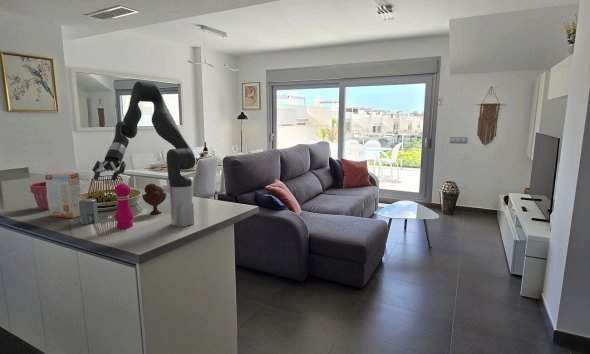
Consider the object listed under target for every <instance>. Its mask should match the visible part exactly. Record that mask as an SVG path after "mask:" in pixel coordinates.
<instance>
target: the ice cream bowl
mask: <svg viewBox="0 0 590 354" xmlns="http://www.w3.org/2000/svg"><path fill="white" fill-rule="evenodd" d="M144 192H145V193H144V194H142V195H141V197H142V199H143V201H144V202H145V203H146V204H148V205H149V206H152V207H153V208H152V211H150V212H149V215H152V216H158V215H161V214H162V211H161V210H159V209H158V206H159V205H161V204H162V203H163V202H164V201H165V200H166V198H167V195H168V194H167V193H166V192H164V188H162V187H161V186H158V185H156V183H148V184H146V185H145V187H144Z"/></svg>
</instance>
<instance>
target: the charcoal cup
mask: <svg viewBox="0 0 590 354" xmlns="http://www.w3.org/2000/svg"><path fill="white" fill-rule="evenodd" d="M79 210H80V216H79V220H80V224H81V225H89V224H90V223H89V222H88V214H93V220H94V223H93V224H96V223H98V222H99V214H98V213H99V212H98V201H97V199H96V198H84V199H81V200H80V201H79Z"/></svg>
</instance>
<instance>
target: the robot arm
mask: <svg viewBox="0 0 590 354" xmlns="http://www.w3.org/2000/svg"><path fill="white" fill-rule="evenodd" d="M140 102H144V103H145V102H146V103H149V102H150V103H152V104H153V106H154V110H153V113H152V114H151V115H152V116H151V123H152V126H153V128H154V130H155V132H156V134H158V136H160V137H161V139H163V140H165V141H166V142H168V143H169V144H170V145H172V146H173V147H174V148H171V149H169V150H168V151H167V152H166V158H165V159H166V169H167V179H168V183H169V199H170V203H169V204H170V220H171V222H170V223H171V226H174V227H181V228H183V227H187V226H191V225H194V224H195V214H194V213H195V211H194V209H195V208H194V203H193V185H192V184H193V183H192V178H190V177H188V176H183V175H182V174H181V171H185V170H186V171H187V170H190V169H194V168H195V165H196V157H195V154H194V152H193V149H191V146H190V145H189V144H188V142H187V141H186V140H185V138H184V137H183V135H182V133H181V131H180V130H179V128H178V125H177V124H176V121H175V119H174V117H173V116H172V114H171V112H170V110H169V108H168V106H167V104H166V101H165V99H164V97H163V94H162V91H161V88H160V87H159V85H158V84H157V83H155V82H149V81H136V82H135V83H134V85H133V87H132V91H131V93H130V98H129V103H128V107H127V111H126V113H125V115H124V117H123V119H122V120H121V121H118V122H117V123H116V124H115V128H114V129H115V130H114V132H115V133H114V138H113V141H112V143H111V144H110V146H109V148H108V149H107V152H106V154H105V156H104V160H103V161H102V162H101V161H99V160H97V161H96V163H95V164H94V166H93V167H92V171H93V173H94V175H93V180H94V181H99V179H100V176H101V174H102V173H105V172H109V171H112V172H113V171H114V172H113V174H112V176H111V180H112V181H113V182H114V181H115V182H116V180H117V179H118V176H119V175H124V173H125V170H126V166H127V164H126V162H125V161H124V160H123V159H124V157H125V154H126V151H127V148H128V146H129V143H130V140H129V139H134V138H135V137H136V136H137V134H138V124H139V122H140V121H141V118H142V115H143V114H142V110H141V107H140V106H139V103H140ZM118 168H119V169H118Z"/></svg>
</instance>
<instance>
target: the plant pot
mask: <svg viewBox="0 0 590 354" xmlns="http://www.w3.org/2000/svg"><path fill="white" fill-rule="evenodd" d="M29 187H30V188H29V189H30V190H29V191H30V193H32V194H33V197H34V199H35V203H36V204H37V208H38V209H39V210H41V211H47V210H48V211H49V208H48V198H47V188H46V181H40V182H35V183H30V185H29Z"/></svg>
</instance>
